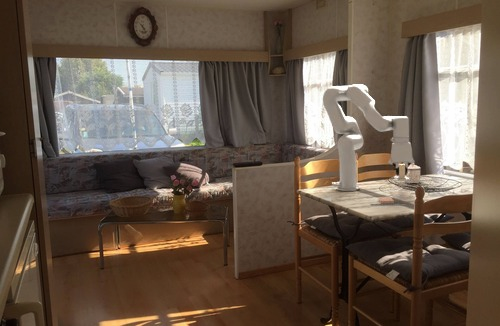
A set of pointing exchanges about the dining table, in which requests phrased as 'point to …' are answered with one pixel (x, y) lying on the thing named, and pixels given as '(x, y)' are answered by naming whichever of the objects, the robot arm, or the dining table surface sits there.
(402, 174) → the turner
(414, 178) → the teacup with lid
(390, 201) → the tile
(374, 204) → the mat
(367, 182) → the dining table surface
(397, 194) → the tool rest
